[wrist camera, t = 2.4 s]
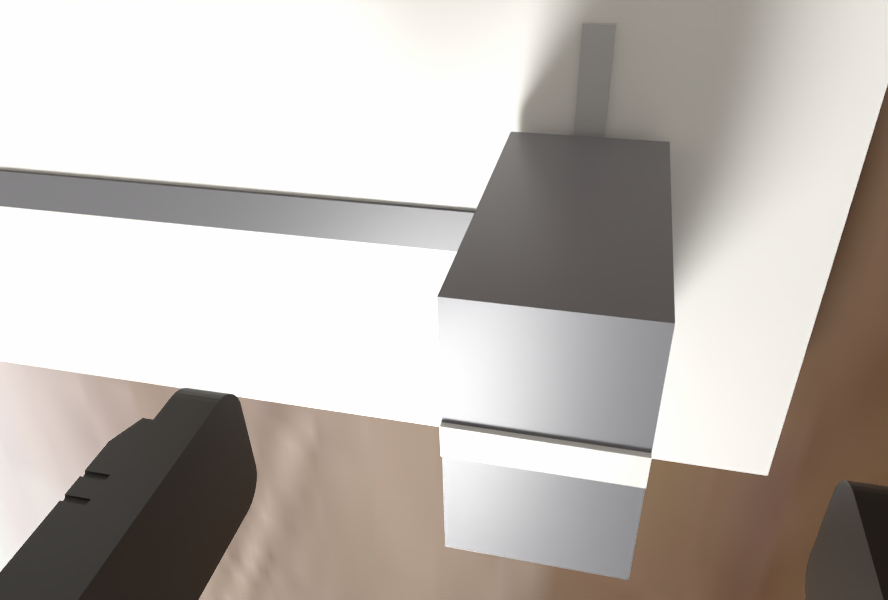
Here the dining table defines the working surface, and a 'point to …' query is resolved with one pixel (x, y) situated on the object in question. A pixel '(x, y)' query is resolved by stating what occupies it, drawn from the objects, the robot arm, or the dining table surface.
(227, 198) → the console
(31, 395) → the dining table surface
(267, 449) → the dining table surface
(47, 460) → the dining table surface
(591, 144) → the block
